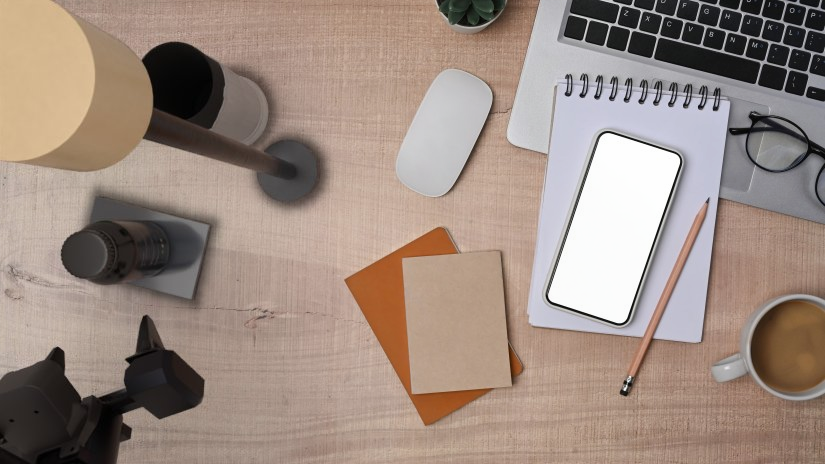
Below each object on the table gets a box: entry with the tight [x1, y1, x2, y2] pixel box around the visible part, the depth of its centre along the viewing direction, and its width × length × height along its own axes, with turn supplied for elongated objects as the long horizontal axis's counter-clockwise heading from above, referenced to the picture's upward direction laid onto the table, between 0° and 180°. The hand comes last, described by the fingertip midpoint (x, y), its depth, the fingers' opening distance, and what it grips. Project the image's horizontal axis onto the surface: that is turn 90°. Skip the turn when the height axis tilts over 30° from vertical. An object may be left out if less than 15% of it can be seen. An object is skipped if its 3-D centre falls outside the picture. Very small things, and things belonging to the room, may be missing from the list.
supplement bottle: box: [60, 220, 170, 286], centre depth 65 cm, size 7×7×12 cm
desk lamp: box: [0, 0, 321, 203], centre depth 48 cm, size 7×7×46 cm
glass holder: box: [140, 41, 270, 146], centre depth 63 cm, size 9×14×15 cm, turn 84°
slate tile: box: [88, 195, 212, 301], centre depth 71 cm, size 9×14×1 cm, turn 76°
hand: (103, 333), depth 58 cm, fingers open, 9 cm apart
